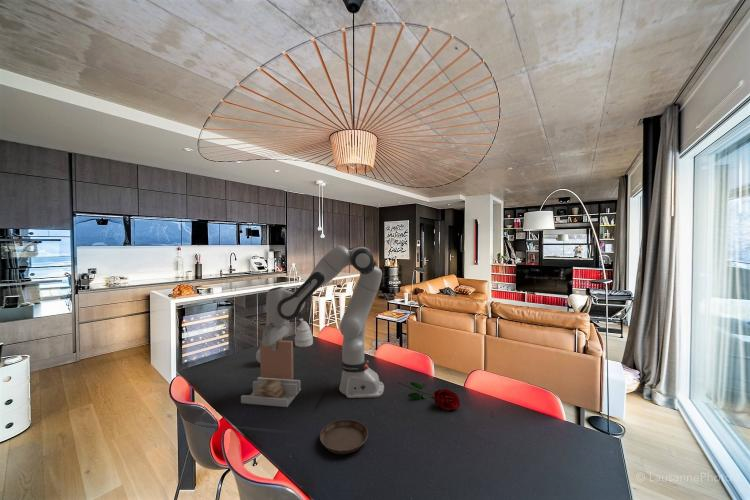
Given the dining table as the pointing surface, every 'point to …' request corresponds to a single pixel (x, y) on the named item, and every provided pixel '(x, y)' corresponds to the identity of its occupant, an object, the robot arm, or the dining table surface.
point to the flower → (438, 397)
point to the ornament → (258, 355)
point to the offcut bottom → (280, 395)
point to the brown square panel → (277, 360)
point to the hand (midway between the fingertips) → (276, 348)
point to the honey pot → (303, 335)
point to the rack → (290, 392)
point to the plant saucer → (343, 436)
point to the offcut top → (269, 385)
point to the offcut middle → (270, 393)
